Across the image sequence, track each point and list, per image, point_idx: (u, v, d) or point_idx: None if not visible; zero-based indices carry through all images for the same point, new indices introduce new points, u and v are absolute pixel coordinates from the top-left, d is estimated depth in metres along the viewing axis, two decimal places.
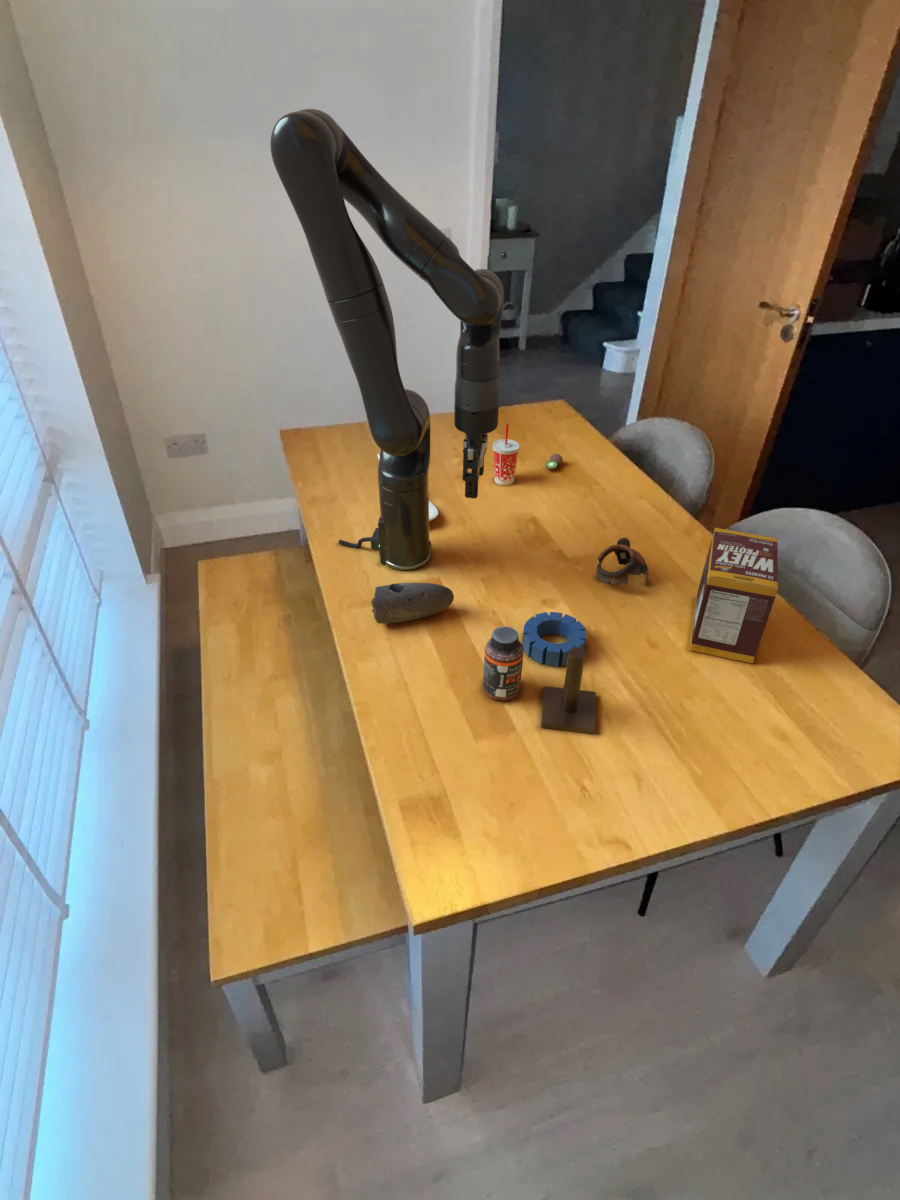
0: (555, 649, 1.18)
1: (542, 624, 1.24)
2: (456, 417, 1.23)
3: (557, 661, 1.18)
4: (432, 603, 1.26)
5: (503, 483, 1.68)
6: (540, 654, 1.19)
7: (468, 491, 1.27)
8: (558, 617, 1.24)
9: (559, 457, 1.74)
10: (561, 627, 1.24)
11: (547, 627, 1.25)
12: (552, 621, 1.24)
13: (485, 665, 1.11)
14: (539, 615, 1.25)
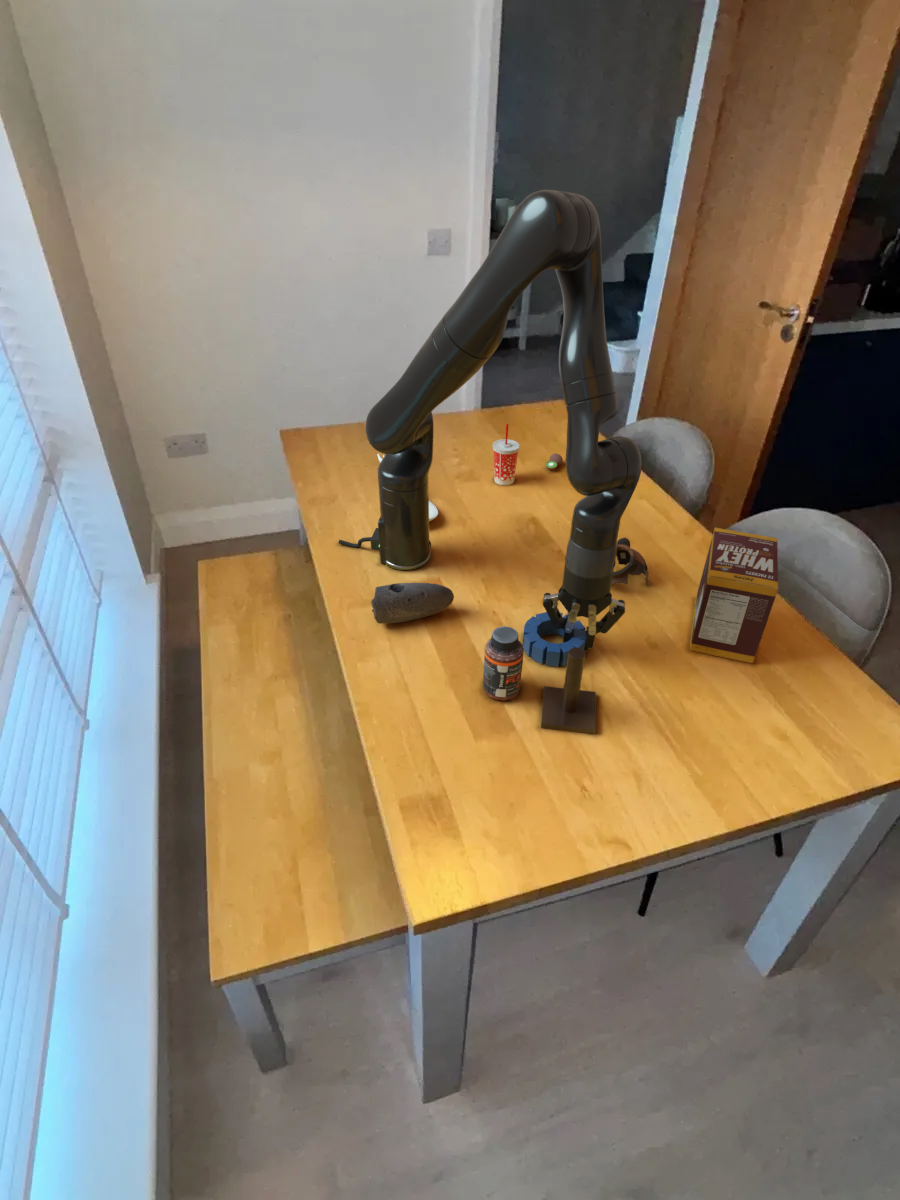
0: (555, 649, 1.18)
1: (542, 624, 1.24)
2: None
3: (557, 661, 1.18)
4: (432, 603, 1.26)
5: (503, 483, 1.68)
6: (540, 653, 1.19)
7: None
8: None
9: (559, 457, 1.74)
10: None
11: (547, 627, 1.25)
12: None
13: (485, 665, 1.11)
14: (539, 615, 1.25)
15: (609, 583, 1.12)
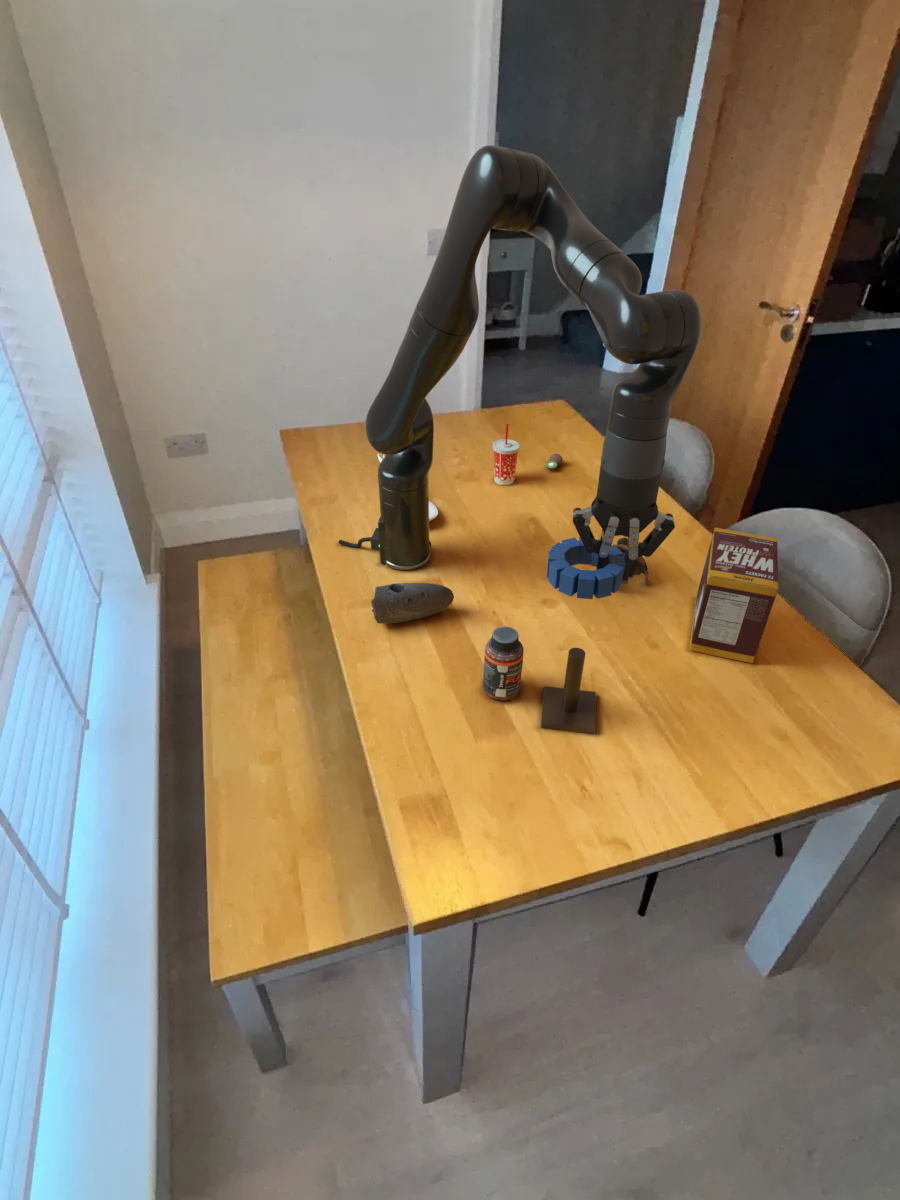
0: (589, 576, 0.96)
1: (570, 551, 1.02)
2: None
3: (591, 592, 0.96)
4: (432, 603, 1.26)
5: (503, 483, 1.68)
6: (570, 583, 0.96)
7: None
8: None
9: (559, 457, 1.74)
10: (593, 554, 1.02)
11: (576, 555, 1.03)
12: (582, 547, 1.02)
13: (485, 665, 1.11)
14: (566, 541, 1.03)
15: (656, 488, 0.90)
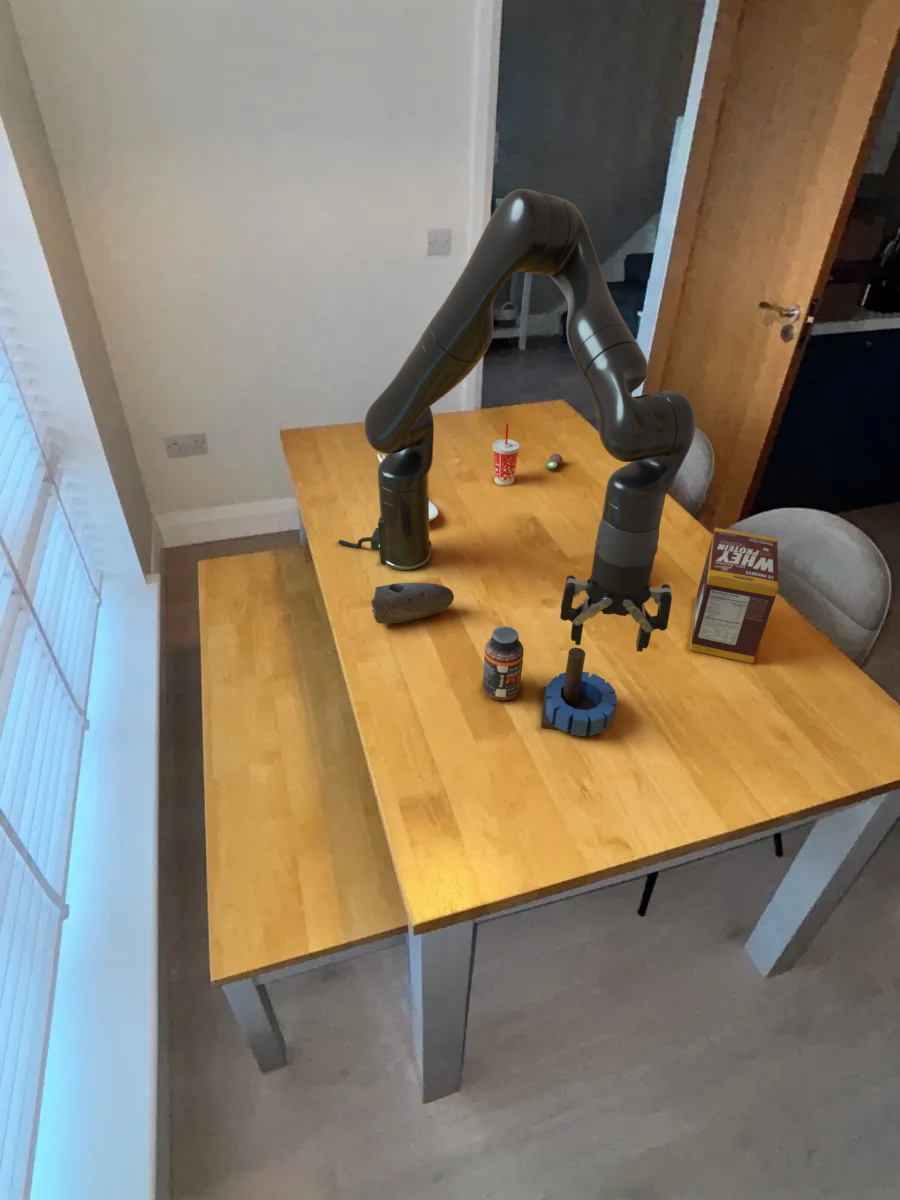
0: (582, 717, 1.04)
1: None
2: None
3: (584, 730, 1.05)
4: (432, 603, 1.26)
5: (503, 483, 1.68)
6: (565, 722, 1.05)
7: (571, 629, 1.02)
8: (584, 677, 1.11)
9: (559, 457, 1.74)
10: (588, 689, 1.11)
11: None
12: None
13: (485, 665, 1.11)
14: (563, 675, 1.12)
15: (649, 573, 0.92)
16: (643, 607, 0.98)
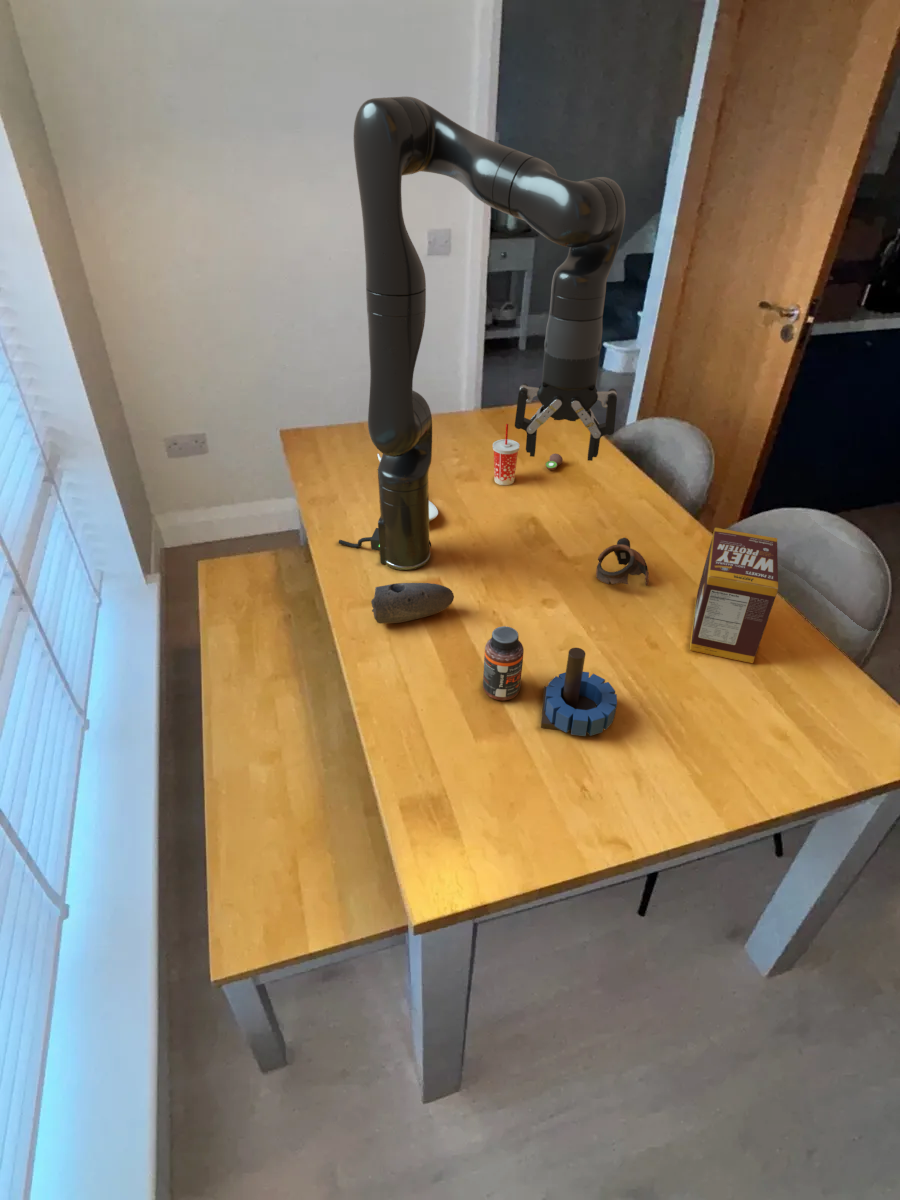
0: (582, 717, 1.04)
1: None
2: None
3: (584, 730, 1.05)
4: (432, 603, 1.26)
5: (503, 483, 1.68)
6: (565, 722, 1.05)
7: None
8: (584, 677, 1.11)
9: (559, 457, 1.74)
10: (588, 689, 1.11)
11: None
12: None
13: (485, 665, 1.11)
14: (563, 675, 1.12)
15: (594, 370, 0.98)
16: (592, 414, 1.05)
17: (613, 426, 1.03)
